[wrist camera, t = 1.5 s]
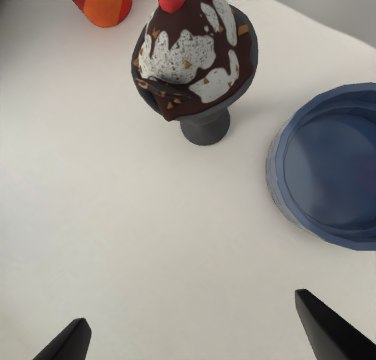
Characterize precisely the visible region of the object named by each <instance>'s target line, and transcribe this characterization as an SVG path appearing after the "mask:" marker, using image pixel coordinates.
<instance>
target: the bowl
mask: <svg viewBox="0 0 376 360" xmlns="http://www.w3.org/2000/svg"><path fill="white" fill-rule="evenodd" d="M266 173H267V184H268V187H269V189H270V192H271V195H272V197H273V200H274V202H275V204H276V205H277V206H278V207H279V209H280V210H281V211H282V212H283V214H284V215H285V216H286V217H287V218H288V220H290V221H291V222H292V223H294V224H295V225H297V226H298V227H300V228H301V229H303V230H304V231H306V232H307V233H309V234H311V235H314V236H316V237H318V238H320V239H322V240H324V241H326V242H329V243H332V244H336V245H339V246H342V247H345V248H349V249H352V250H356V251H376V83H372V82H371V83H360V84H350V85H343V86H340V87H337V88H335V89H332V90H330V91H327V92H324V93H322V94H319V95H317V96H316V97H314V98H313V99H312V100H311V101H309V102H308V103H307V104H305V105H304V106H303V107H302V108H300V109H299V110H298V111H297V112H296V113H295V114H294V115H293V116H292V117H291V118H290V119H289V120H288V121H287V122H286V123H285V124H284V125H283V126H282V128H281V129H280V131H279V132H278V133H277V135H276V136H275V138H274V139H273V141H272V143H271V146H270V150H269V153H268V157H267V160H266Z"/></svg>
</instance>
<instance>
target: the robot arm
mask: <svg viewBox="0 0 376 360" xmlns="http://www.w3.org/2000/svg"><path fill="white" fill-rule="evenodd" d="M295 304H296V309H297V312H298V314H299V317H300V319H301V322H302V324H303V327H304V329H305V332H306V334H307V337H308V339H309V342H310V344H311V346H312V349H313V351H314V354H315V356H316V358H317V360H376V344H374V343H373V342H372V341H371V340H369V339H368V338H367V337H366V336H364V335H363V334H362V333H361V332H359V331H358V330H357V329H356V328H354V327H353V326H352V325H351V324H349V323H348V322H347V321H346V320H344V319H343V318H342V317H341V316H339V315H338V314H337V313H336V312H334V311H333V310H332V309H331V308H329V307H328V306H327V305H326V304H324V303H323V302H322V301H321V300H319V299H318V298H317V297H316V296H314V295H313V294H312V293H311V292H309V291H308V290H307V289H298V290H295ZM91 334H92V333H91V329H90V327H89V325H88V323H87V321H86V319H85V318H77V319H74V320H73V321H72V322H71V323H70V324H69V325H68V326H67V327H66V328H65V329H64V330H63V331H62V332H61V333H59V334H58V335H57V336H56V337H55V338H54V339H53V340H52V341H51V342H50V343H49V344H48V345H47V346H46V347H45V348H44V349H43V350H42V351H41V352H40V353H39V354H38V355H37V356H36V357H35V358H34V359H33V360H85V358H86V354H87V350H88V347H89V343H90V339H91Z"/></svg>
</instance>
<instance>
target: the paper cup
mask: <svg viewBox="0 0 376 360" xmlns="http://www.w3.org/2000/svg"><path fill="white" fill-rule="evenodd" d="M73 2H74V3H75V4H76V5H77V6H78V7H79V9H80V10H81V11H82V12H83V13H84V14H85V15H86V17H87V18H88V19H89V20H90V21H91V22H92V23H94V24H95V25H97V26H99V27H112V26H115V25H117V24H119V23H120V22H121V21H123V20H124V19H125V18H126V16H127V15H128V13H129V11H130V9H131V5H132V0H73Z"/></svg>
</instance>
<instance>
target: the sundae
mask: <svg viewBox="0 0 376 360" xmlns="http://www.w3.org/2000/svg"><path fill="white" fill-rule="evenodd" d="M158 1H159V6H158V7H156V9H155V10H154V11H153V13H152V14H151V16H150V18H149V20H148V22H147V24H146V25H145V27H144V28H143V30H142V32H141V35H140V37H139V39H138V41H137V44H136V46H135V49H134V52H133V55H132V62H131V73H132V77H133V80H134V83H135V85H136V88H137V90H138V92H139V94H140V95H141V96H142V98H143V99H144V100H145V101H146V103H147V104H148V105H149V106H150V107H151V108H152V109H153V110H154V111H156V112H157V113H159V114H160V115H162V116H163V117H164V118H165V120H167V121H172V120H177V121H180V125H181V129H182V132H183V134H184V136H185V137H186V138H187V139H188V140H189V141H190V142H192V143H194V144H197V145H202V146H206V145H211V144H214V143H216V142H218V141H219V140H221V139H222V138H223V137H224V136H225V134H226V133H227V131H228V128H229V125H230V115H229V112H228V110H227V107H229V106H230V105H231V104H232V103H234V102H235V101H236V100H238V99H239V98H240V97H241V96H242V95H243V94H244V93H245V92H246V91H247V89H248V88H249V86H250V85H251V83H252V80H253V78H254V76H255V72H256V68H257V64H258V42H257V36H256V33H255V30H254V28H253V25H252V24H251V22H250V20H249V19H248V17H247V16H246V15H245V14H244V13H243V12H241V11H240V10H239V9H237V8H236V7H234V6H232V5H230V4H228V3H227V1H226V0H158Z"/></svg>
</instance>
